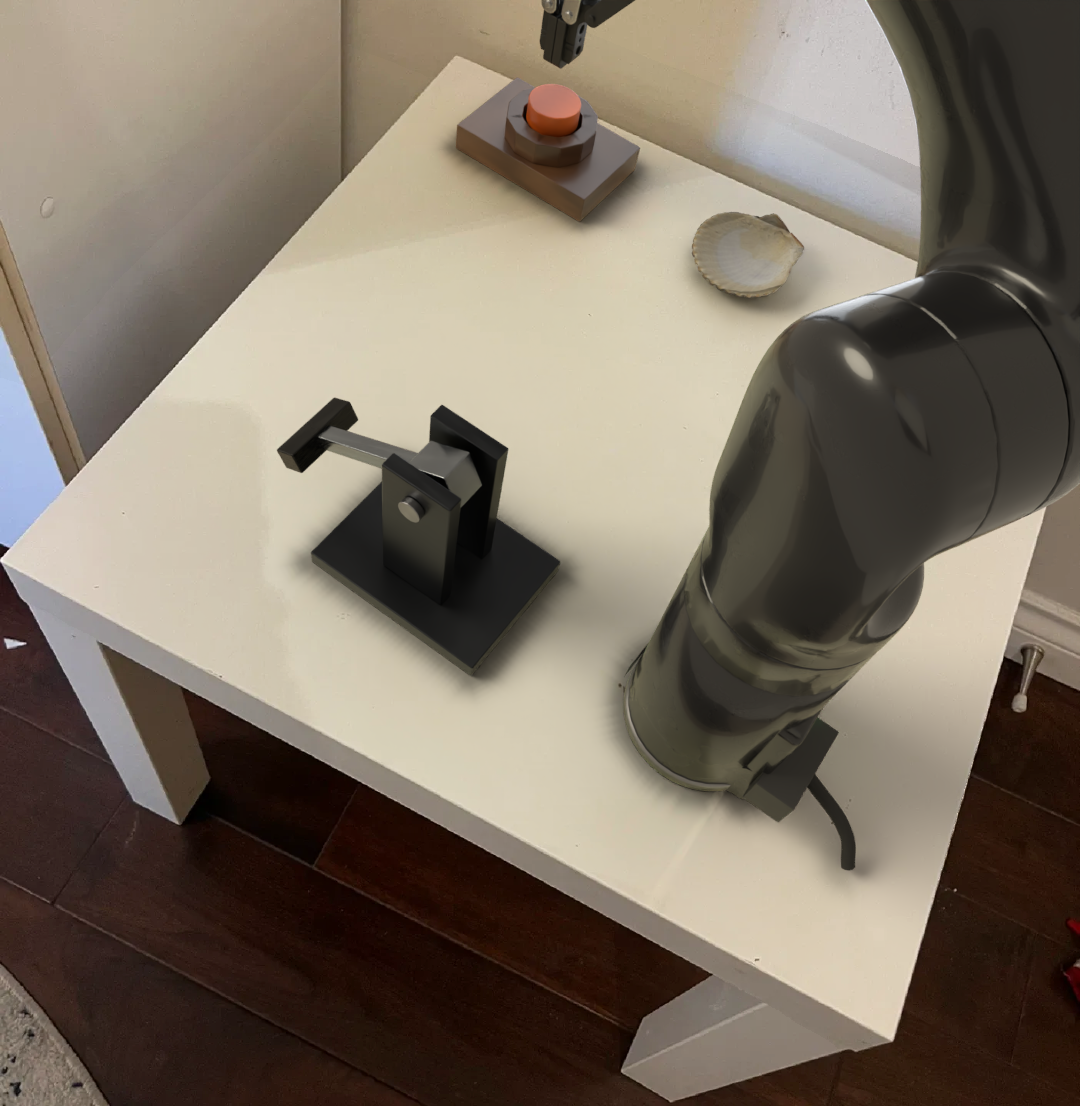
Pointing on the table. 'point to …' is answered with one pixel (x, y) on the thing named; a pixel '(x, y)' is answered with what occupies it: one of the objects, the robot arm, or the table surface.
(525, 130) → the button base
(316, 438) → the switch lever
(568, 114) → the button
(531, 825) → the table surface
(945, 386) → the robot arm
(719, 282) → the seashell
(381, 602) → the switch bracket
